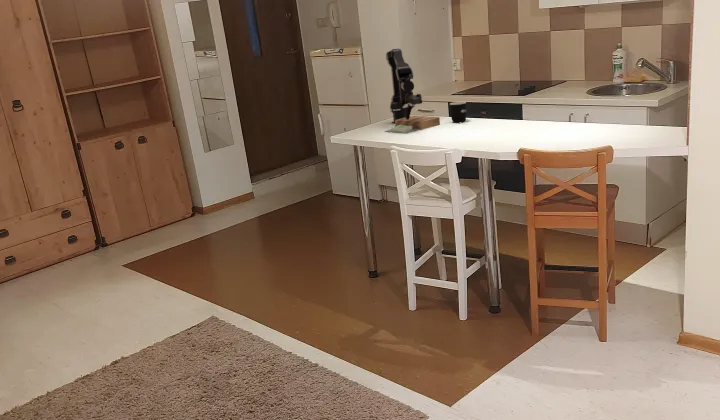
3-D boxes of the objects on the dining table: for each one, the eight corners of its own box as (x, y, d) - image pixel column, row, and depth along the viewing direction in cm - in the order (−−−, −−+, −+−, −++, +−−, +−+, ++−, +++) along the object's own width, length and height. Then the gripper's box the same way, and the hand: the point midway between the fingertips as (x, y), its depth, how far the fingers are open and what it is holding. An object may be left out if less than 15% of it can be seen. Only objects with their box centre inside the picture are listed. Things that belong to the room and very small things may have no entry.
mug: (462, 123, 351) (461, 104, 348) (447, 123, 356) (446, 104, 353) (473, 119, 360) (472, 100, 357) (458, 119, 365) (457, 100, 362)
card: (399, 125, 353) (400, 128, 354) (391, 127, 350) (392, 130, 350) (412, 125, 347) (412, 129, 347) (404, 128, 343) (404, 131, 344)
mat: (384, 131, 352) (384, 131, 352) (399, 127, 359) (399, 127, 359) (405, 133, 340) (405, 132, 340) (420, 129, 347) (420, 128, 347)
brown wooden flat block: (395, 127, 361) (394, 120, 360) (413, 122, 370) (412, 115, 368) (422, 129, 346) (421, 121, 345) (439, 124, 355) (439, 117, 354)
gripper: (403, 93, 335) (406, 123, 339) (428, 87, 346) (430, 117, 351) (388, 92, 343) (391, 122, 347) (413, 87, 354) (415, 116, 359)
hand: (407, 119), depth 351 cm, fingers closed
